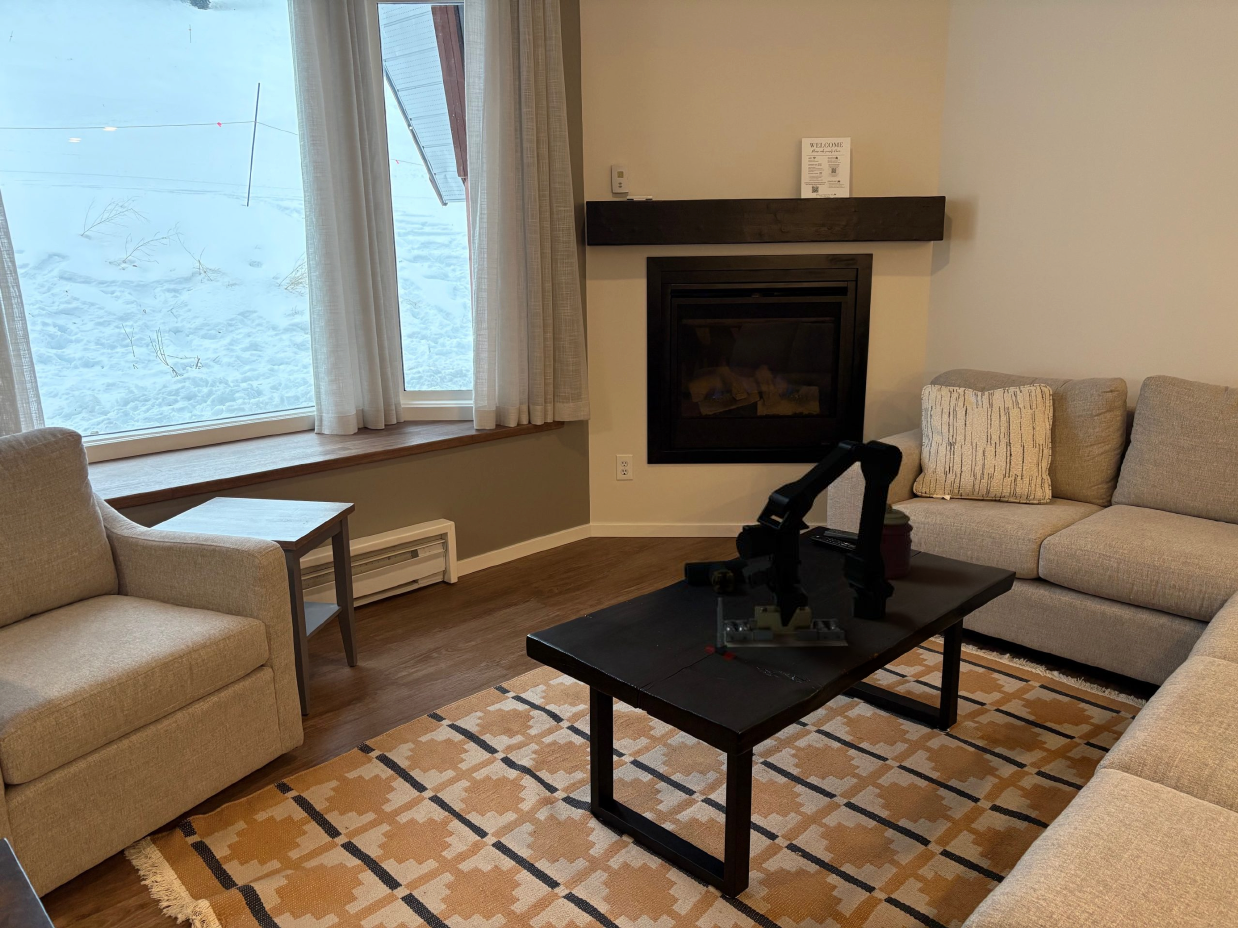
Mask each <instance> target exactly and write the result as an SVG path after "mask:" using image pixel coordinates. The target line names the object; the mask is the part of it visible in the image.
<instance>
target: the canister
mask: <svg viewBox="0 0 1238 928" xmlns="http://www.w3.org/2000/svg"><path fill="white" fill-rule="evenodd" d="M910 521H911V517H910V516H909V515H908V514H906V513H905V512H904V511H903V510H900V509H898V508H893V505H892V504H891V503H889V502H887V505H886V512H885V519H884V526H883V532H882V539H881V546H880V552H881V555H882V558H883V560H884V563H885V578H886V579H899V578H900V579H901V578H904V577H906V576H908V574H909V573H910V570H911V555H912V554H911V553H912V543H913V539H912V537H911V532H913V530H914V527H913V525H912V524H911V523H910ZM858 525H860V522H859V523H858Z"/></svg>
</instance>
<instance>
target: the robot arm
mask: <svg viewBox="0 0 1238 928" xmlns="http://www.w3.org/2000/svg"><path fill="white" fill-rule="evenodd" d="M903 458H904V457H903V452H902V451H901V449H900V448H899V447H898V446H897V445H896V444H895V445H894V444H892V443H891V444H890V443H886V442H884V441H880V440H875V439H873V440H869V441H867V442H866V443H865V442H860V441H852V440H848V439H844V440H840V441H839V443H838V444H837V446H836V448H835V449H833V450H831V452H830V453H828V454H827V455H826V456H824V458H823V459H821V460H820V461H819V462H818V463H817V464H816V465H814V466H813V467H812V468H811V469H810V470H809V471H808V472H806V473H805V474H804V475H802V476H801V477H800V478H799V479H797V480H794V481H791V482H789V483H785V484H784V485H781V486H780V487H779V488H777V489H775V490H773V491H772V492H771V494H770V495H769V496H768V498H767V499H768V500H767V501H766V504H765V505H764V507H763V508H762V510H761V511H760V514H758V517H757V518H756V523H755V524H745V525H742V529H741V530H742V531H740V532H738V535H737V537H736V539H735V547H736V551H737V553H738V556H739V557H740V558H741V560H746V561H747V560H754V559H757V558H758V559H759V558H763V557H767V560H763V561H759V562H756V563H753V564H751V565H748V566H747V567H745V568H743V569H742V571H743V574H744V577H745V579H746V580H745V582H746V584H747V588H748V589H749V590H753V589H756V588H758V587H760V586H763V585H766V588H767V589H768V590H769V591H770V592H771V593H772V594H773V595H771V598H772V601H773V602H774V604H775V606H777V607H779V611H780V617H781V624H782V626H783V627H787V626H788V624H789V623H790V621H791V619H792V617H793V615H794V614H795V612H796V610H797V609H798V607H807V606H808V607H809V596H808V595H807V593H806V591H805V590H804V589H803V588H802V587H801V586H796V585H801V580H802V579H801V577H800V575H799V574H800V573H799V572H800V571H799V570H800V567H799V566H801V565H802V558H801V557H800V547H801V545H800V542H801V531H806V530H809V529H810V528H811V527H810V525H808V524H807V523H806V522H805V521H804V518H805V517H806V515H807V514H808V513H809V512H810V511H811V510H812V509H813V505H814V503H815V499H816V498H817V497H818V496H819V495H820V494H821V493H823V492H824V490H826V489H827V488H828V487H830V486H831V484H833V483H834V482H835V481H836V480H837V479H838V478H840V477H841V476H842V475H843V474H844V473H846V472H847V471H848V470H849V469H850V468H851V467H852V466H853V465H855V464H856V463H860V470H861V473H862V476H863V479H864V491H863V496H862V497H863V498H862V505H861V512H860V518H859V523H860V525H859V524H858V525H859V526H858V533H857V540H856V545H855V547H854V548H853V550H852V551H850V553H848V552H846V553H845V554H844V563H843V567H842V569H841V571H843V573H844V574H843V576H844V579H845V580H846V581H847V584H848V587H849V588H850V589H852V590H854V592H853V596H851V601H850V614H851V616H852V617H853V618H857V619H863V620H869V621H875V620H880V619H883V618H886V608H887V600H888V598H892V596H893V594H894V591H895V587H894V586H893V584H892V583H891V582H890V581H889V580H888V578H885V563H884V560H883V558H882V555H881V552H880V546H881V539H882V532H883V526H884V519H885V512H886V505H887V503H888V497H889V492H890V491H889V490H890V485H892V483H893V482H894V481H895V479H896V478H897V477H898V476H899V473H900V470H901V465H902V462H903ZM773 517H775V518H777V519H775V518H773ZM778 519H780V520H781V521H780V520H778Z"/></svg>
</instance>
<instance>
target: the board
mask: <svg viewBox="0 0 1238 928" xmlns="http://www.w3.org/2000/svg"><path fill="white" fill-rule="evenodd" d="M811 629H812V623H811ZM747 630H748V631H751V642H726V641H725V633H726V632H725V630H724V645H727V648H749V647H750V648H761V647H762V648H763V647H764V648H765V647H766V648H767V647H768V648H771V647H774V648H776V647H778V648H779V647H840V646H841V647H842V646H843V647H847V646H850V645H849V644H848V643H847V640H846V639H845V638H844V641H819V640H818V632H817V641H797V640H796V638H797V632H785V633H773V642H753V630H749V623H747ZM827 630H829V629H827ZM735 632H738V631H737V630H735Z"/></svg>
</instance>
